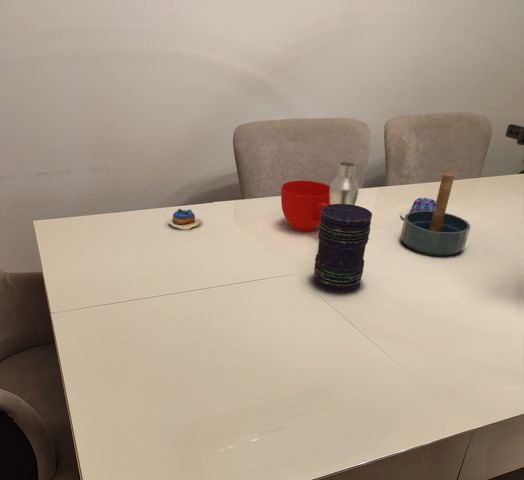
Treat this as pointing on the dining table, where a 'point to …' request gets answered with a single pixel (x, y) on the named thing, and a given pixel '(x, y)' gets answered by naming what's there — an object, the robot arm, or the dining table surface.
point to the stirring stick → (441, 202)
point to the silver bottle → (344, 185)
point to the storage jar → (341, 247)
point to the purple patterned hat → (421, 206)
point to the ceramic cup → (304, 203)
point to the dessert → (184, 219)
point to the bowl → (434, 234)
